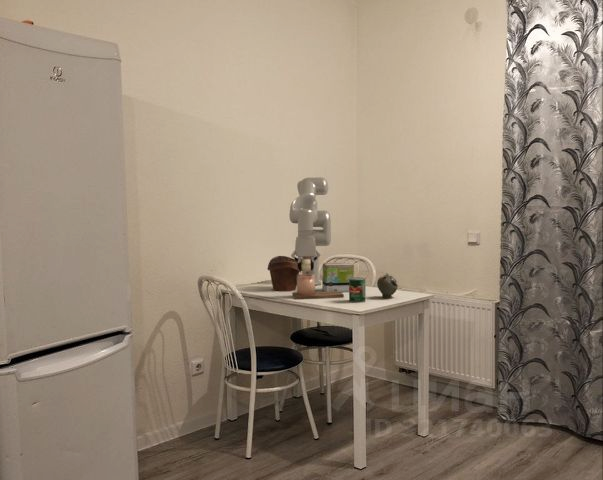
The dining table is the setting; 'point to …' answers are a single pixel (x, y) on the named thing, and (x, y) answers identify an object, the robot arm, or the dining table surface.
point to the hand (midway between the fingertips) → (305, 269)
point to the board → (320, 295)
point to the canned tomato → (357, 290)
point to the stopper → (305, 264)
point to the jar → (305, 284)
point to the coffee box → (337, 276)
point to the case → (283, 273)
